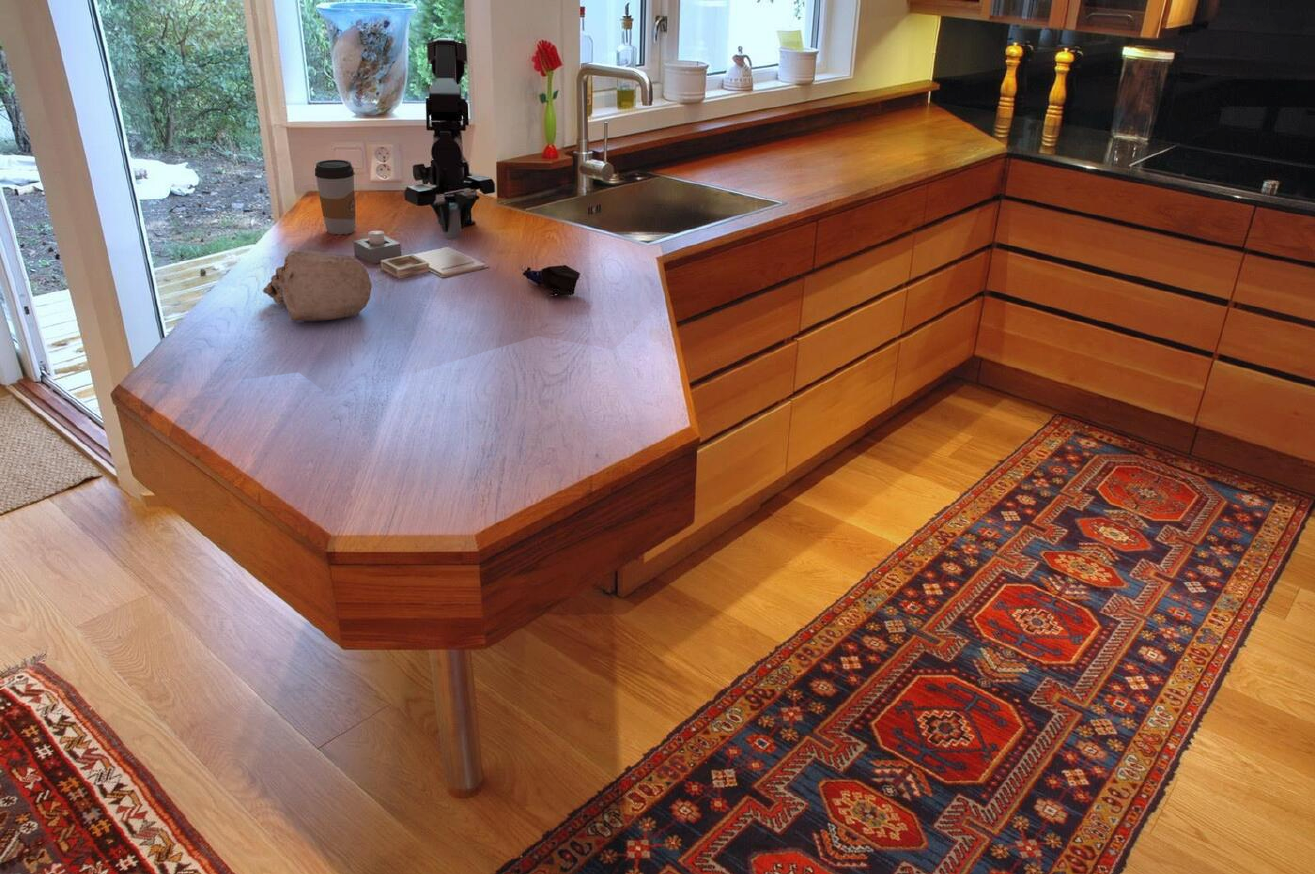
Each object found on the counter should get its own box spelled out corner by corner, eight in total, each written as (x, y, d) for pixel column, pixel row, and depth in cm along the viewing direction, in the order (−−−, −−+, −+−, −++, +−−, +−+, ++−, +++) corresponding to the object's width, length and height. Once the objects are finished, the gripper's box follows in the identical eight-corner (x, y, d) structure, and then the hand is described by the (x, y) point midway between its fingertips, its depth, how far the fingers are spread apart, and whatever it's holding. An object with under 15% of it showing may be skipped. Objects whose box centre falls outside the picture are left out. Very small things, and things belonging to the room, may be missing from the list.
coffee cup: (349, 238, 222) (342, 170, 214) (314, 234, 223) (306, 166, 216) (366, 227, 229) (360, 161, 221) (332, 223, 230) (325, 157, 223)
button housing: (384, 248, 216) (383, 235, 215) (401, 257, 212) (400, 243, 210) (354, 254, 212) (353, 241, 211) (371, 263, 208) (370, 249, 206)
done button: (380, 243, 213) (379, 229, 212) (388, 247, 211) (386, 233, 210) (366, 246, 211) (365, 232, 210) (374, 250, 209) (372, 236, 208)
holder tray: (411, 262, 209) (410, 254, 209) (429, 271, 205) (429, 263, 204) (381, 269, 205) (380, 260, 204) (399, 278, 201) (398, 269, 200)
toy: (554, 267, 206) (591, 269, 194) (549, 299, 206) (586, 302, 194) (514, 259, 200) (550, 260, 188) (509, 291, 201) (544, 294, 189)
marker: (455, 233, 215) (454, 201, 211) (464, 237, 212) (463, 205, 209) (442, 236, 212) (440, 204, 209) (451, 240, 210) (449, 207, 207)
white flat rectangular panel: (449, 248, 218) (448, 245, 218) (489, 267, 209) (489, 264, 208) (403, 258, 211) (403, 255, 211) (442, 278, 202) (442, 275, 201)
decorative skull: (258, 242, 185) (270, 254, 168) (356, 242, 192) (377, 254, 175) (261, 309, 188) (274, 328, 171) (358, 307, 196) (379, 325, 179)
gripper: (465, 142, 215) (468, 213, 223) (387, 153, 204) (393, 228, 211) (495, 152, 208) (498, 226, 216) (416, 165, 197) (422, 242, 204)
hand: (453, 230), depth 212 cm, fingers closed on marker, 3 cm apart
